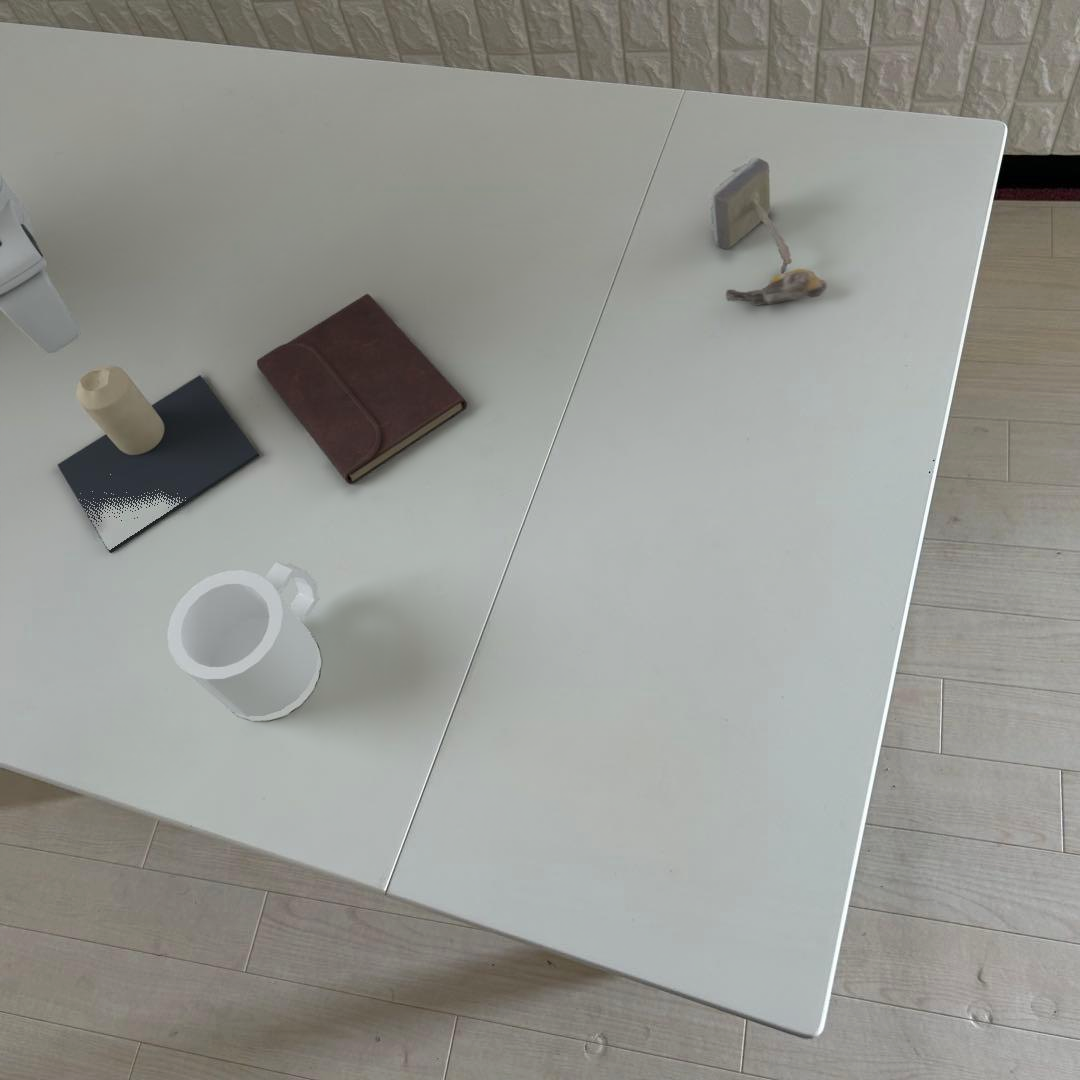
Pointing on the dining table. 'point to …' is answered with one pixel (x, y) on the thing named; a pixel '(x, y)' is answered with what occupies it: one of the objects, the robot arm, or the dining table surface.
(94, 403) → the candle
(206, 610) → the mug
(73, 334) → the robot arm
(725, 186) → the decorative sculpture
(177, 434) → the mat
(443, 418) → the notebook
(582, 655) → the dining table surface
